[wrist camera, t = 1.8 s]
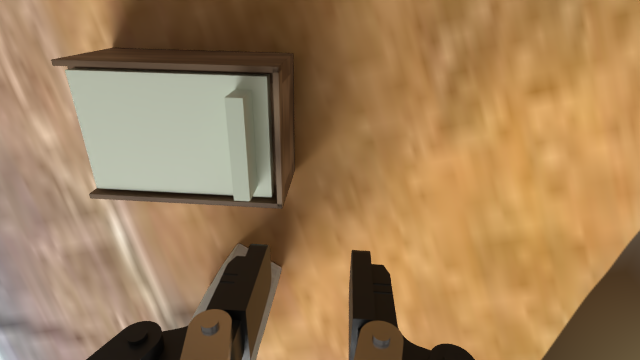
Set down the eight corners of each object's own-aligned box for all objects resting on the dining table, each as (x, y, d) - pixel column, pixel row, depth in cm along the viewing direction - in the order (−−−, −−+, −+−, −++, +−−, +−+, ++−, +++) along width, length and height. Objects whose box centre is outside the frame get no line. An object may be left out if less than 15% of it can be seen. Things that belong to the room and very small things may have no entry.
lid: (74, 67, 27) (38, 76, 24) (269, 74, 27) (258, 83, 23) (104, 183, 32) (77, 202, 28) (274, 191, 31) (265, 213, 28)
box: (112, 47, 33) (51, 59, 26) (293, 53, 32) (278, 66, 25) (136, 163, 37) (90, 198, 31) (294, 170, 36) (282, 208, 30)
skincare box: (249, 308, 45) (207, 439, 31) (205, 285, 44) (141, 410, 30) (284, 263, 41) (253, 388, 28) (237, 237, 40) (181, 354, 27)
